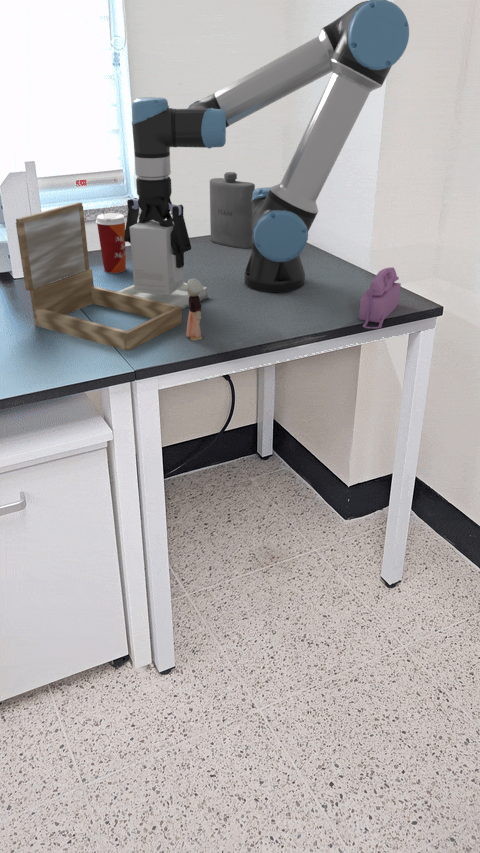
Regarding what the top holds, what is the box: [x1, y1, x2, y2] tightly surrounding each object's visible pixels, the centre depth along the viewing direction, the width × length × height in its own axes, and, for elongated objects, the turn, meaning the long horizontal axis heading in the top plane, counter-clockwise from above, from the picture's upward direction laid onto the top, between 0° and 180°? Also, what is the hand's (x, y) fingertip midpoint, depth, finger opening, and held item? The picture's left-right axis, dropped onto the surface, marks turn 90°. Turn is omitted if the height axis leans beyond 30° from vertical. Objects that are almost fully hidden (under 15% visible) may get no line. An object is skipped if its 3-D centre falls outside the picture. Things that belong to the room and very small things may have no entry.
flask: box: [209, 171, 256, 249], centre depth 207 cm, size 15×6×20 cm, turn 52°
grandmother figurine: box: [185, 278, 204, 341], centre depth 146 cm, size 8×4×13 cm, turn 24°
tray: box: [117, 282, 209, 311], centre depth 168 cm, size 16×16×2 cm
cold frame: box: [15, 201, 183, 352], centre depth 150 cm, size 27×18×23 cm
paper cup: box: [95, 212, 127, 274], centre depth 186 cm, size 8×8×14 cm
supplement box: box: [129, 220, 185, 296], centre depth 164 cm, size 9×9×15 cm
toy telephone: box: [358, 266, 402, 329], centre depth 158 cm, size 18×6×10 cm, turn 152°
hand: (158, 277), depth 166 cm, fingers closed on supplement box, 10 cm apart
